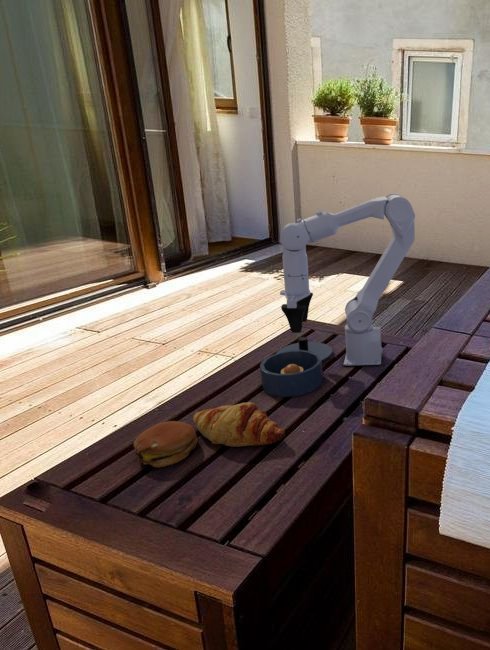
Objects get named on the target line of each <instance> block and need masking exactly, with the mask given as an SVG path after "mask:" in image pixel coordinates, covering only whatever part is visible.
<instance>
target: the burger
mask: <svg viewBox="0 0 490 650" xmlns="http://www.w3.org/2000/svg"><path fill="white" fill-rule="evenodd" d="M198 442H199V439H198V435H197V432H196V430H195V429H194V427H193V426H192V425H191V424H189V423H187V422H183V421H178V420H177V421H176V420H170V421H163V422H159V423H156V424H154V425H153V426H151V427H148V428H147V429H145V430H144V431H143V432H141V433H140V434H139V435H138V436H137V437H136V439H135V440H134V442H133V445H132V446H133V448H134V450H136V451H135V456H137V457H138V458H137V462H139V463H142V464H143V465H150V466H151V467H154V468H165V467H170V466H173V465H174V464H177V463H180V462H181V461H183V460H185V458H187V457H188V456H189V455H190V452H192V451H193V450H194V449H195V448H196V446H197V444H198Z"/></svg>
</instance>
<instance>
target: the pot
mask: <svg viewBox="0 0 490 650" xmlns="http://www.w3.org/2000/svg"><path fill="white" fill-rule="evenodd" d="M276 353H277V352H276ZM276 353H274V354H271V355H269V356H267V357H266V358H264V359H263V360H262V361H261V363H260V365H259V371H260V379H261V385H262V389H263V391H264V392H265V393H266V394H268V395H271V396H273V397H278V398H291V397H298V396H303V395H305V394H308V393H311V392H313V391H315V390H316V389H318V388H319V387H320V386H321V385H322V384H323V380H324V373H323V372H324V371H323V361H322V359H321V357H320V356H319V354H316V353H314V352H312V351H305V350H291V351H285V352H280V353H277V354H276ZM289 364H296V365H297V366H300V367H302V368H303V369H304V371H302V372H297V373H291V374H281V370H282V369H284V368H285V367H286V366H287V365H289Z"/></svg>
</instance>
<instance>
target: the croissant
mask: <svg viewBox="0 0 490 650" xmlns="http://www.w3.org/2000/svg"><path fill="white" fill-rule="evenodd" d="M192 419H193V423H194V425H195V426H196V429H197V430H198V432H199V433H200V434H201V435H202V436H203V437H204V438H205V439H207V440H208V441H210V442H211V444H212V445H224V446H226V447H232V448H233V447H235V448H238V447H247V446H265V445H272V444H274V443H276V442H279V441H281V440H283V439H284V437H285V435H286V430H285V428H282V427H279V424H278V423H277V422H276V421H273V420H272V419H271V418H269V417H268V415H267V412H266V411H264V410H261V409H259V408H258V405H257V404H256V403H254V402H251V401H247V402H241V403H236V404H228V405H221V406H218V407H216V408H207V409H204V410H201V411H196V412H195V413H194V415H193V417H192Z"/></svg>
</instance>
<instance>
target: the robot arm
mask: <svg viewBox="0 0 490 650" xmlns="http://www.w3.org/2000/svg"><path fill="white" fill-rule="evenodd" d="M413 208H414V207H413V206H412V204H411V202H410V201H409V200H408V199H407V198H406V197H404V196H402V195H401V194H399V193H390V194H387V195H386V196H385V195H382V196H377V197H374V198H371V199H368V200H366V201H363V202H361V203H358V204H356V205H354V206H351V207H348V208H346V209H344V210H341V211H338V212H336V213H332V212H330V211H328V210H326V211H322V210H321V209H320V210H318V211H316V212H315V214H314V215H312V216H309V217H306V218H304V219H303V218H301V217H300V218H298V219H296V222H289V223H287V224H285V225H284V226H283V227H282V230H281V232H280V234H279V239H280V243H281V245H282V247H281V248H282V249H281V251H282V257H281V258H282V269H283V271H282V272H283V282H284V289H282V290H280V292H279V295H280V296H284V297H285V299H286V303H284V304H283V303H282V304H281V306H280V308H281V311H282V313H283V314H284V315H285V318H286V320H287V323H288V325H289V328H290V331H291V333H292V334H300V333H301V332H302V329H303V322H304V323H307V321H308V317H309V309H310V305H311V300H312V299H313V296H314V293H313V292H311V290H310V279H309V262H308V261H309V260H308V254H307V246H306V245H307V244H312V243H316V242H318V241H321V240H323V239H326V238H329V237H332V236H335V235H336V234H337V232H338V230H339V228H340V227H343V226H347V225H350V224H352V223H356V222H358V221H362V220H365V219H369V218H375V219H379V220H385V218H386V219H387V221H388V223H389V227H390V229H391V234H392V237H391V239H390V241H389V242H388V244H387V246H386V247H385V249H384V252H383V253H382V254H381V256H380V258H379V259H378V261H377V263H376V264H375V267H374V268H373V270H372V271H371V273H370V274H369V276H368V278H367V279H366V281H365V283H364V285H363V287H362V288H360V290H359V291H358V292H357V293H356V295H355V296H354V297H353V298H351V299H350V300H349V301H348V302H347V303H346V305H345V307H344V312H345V315H346V324H345V325H344V336H345V337H344V339H345V340H344V341H345V357H344V361H343V366H345V367H347V366H349V367H350V366H380V365H382V357H383V353H384V352H383V351H384V349H383V347H382V328H381V327H378V326H374V324H373V318H374V315H375V313H376V310H377V307H378V303H379V300H380V299H381V297H382V296H383V293H384V292H385V290H386V288H387V287H388V285H389V283H390V282H391V280H392V278H393V277H394V275H395V274H396V273H397V271H398V269H399V267H400V265H401V263H402V262H403V261H404V258H405V257H406V255H407V253H408V252H409V251H410V249H411V247H412V245H413V244H414V241H415V235H416V234H415V220H416V213H415V210H414V209H413Z"/></svg>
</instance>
